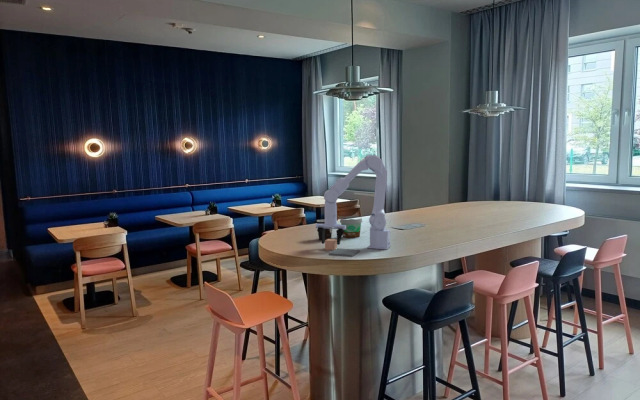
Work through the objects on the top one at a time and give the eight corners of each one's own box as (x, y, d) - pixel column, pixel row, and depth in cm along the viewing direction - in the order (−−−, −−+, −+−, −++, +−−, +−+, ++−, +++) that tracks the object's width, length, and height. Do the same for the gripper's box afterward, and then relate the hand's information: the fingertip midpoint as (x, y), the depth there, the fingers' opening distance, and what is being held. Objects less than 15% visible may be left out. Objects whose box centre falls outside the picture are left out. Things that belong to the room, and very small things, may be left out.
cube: (336, 248, 223) (336, 239, 223) (333, 250, 219) (333, 241, 219) (328, 247, 225) (328, 238, 224) (325, 249, 221) (324, 240, 220)
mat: (359, 251, 215) (359, 249, 215) (352, 256, 205) (352, 254, 205) (336, 249, 219) (336, 248, 219) (328, 254, 209) (328, 253, 209)
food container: (342, 239, 246) (342, 220, 245) (339, 237, 252) (339, 218, 251) (365, 237, 248) (365, 219, 247) (361, 235, 254) (361, 217, 253)
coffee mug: (323, 241, 239) (323, 222, 238) (313, 239, 246) (313, 220, 245) (341, 239, 246) (341, 220, 245) (331, 236, 253) (330, 218, 252)
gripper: (313, 215, 219) (313, 244, 221) (342, 217, 214) (342, 246, 215) (318, 213, 226) (318, 241, 227) (347, 215, 220) (347, 243, 222)
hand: (330, 243), depth 222 cm, fingers open, 7 cm apart
